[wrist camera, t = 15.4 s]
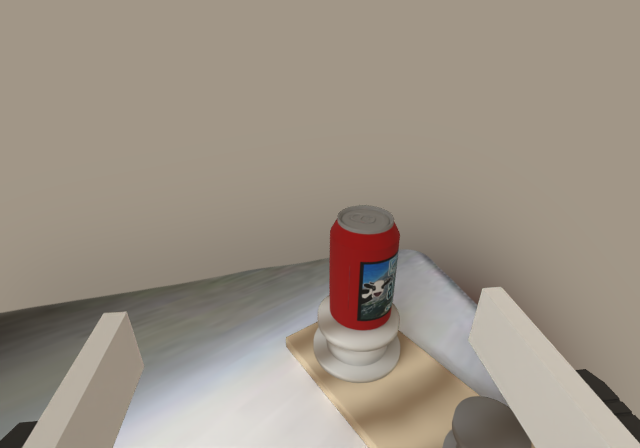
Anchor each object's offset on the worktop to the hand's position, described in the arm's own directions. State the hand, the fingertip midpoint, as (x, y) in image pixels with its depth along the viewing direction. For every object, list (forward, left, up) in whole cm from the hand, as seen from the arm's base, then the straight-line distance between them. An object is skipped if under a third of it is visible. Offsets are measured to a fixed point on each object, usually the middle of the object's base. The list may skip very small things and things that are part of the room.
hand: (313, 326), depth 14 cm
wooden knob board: (-6, +15, -24) cm, 29 cm away
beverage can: (-14, +16, -18) cm, 27 cm away
